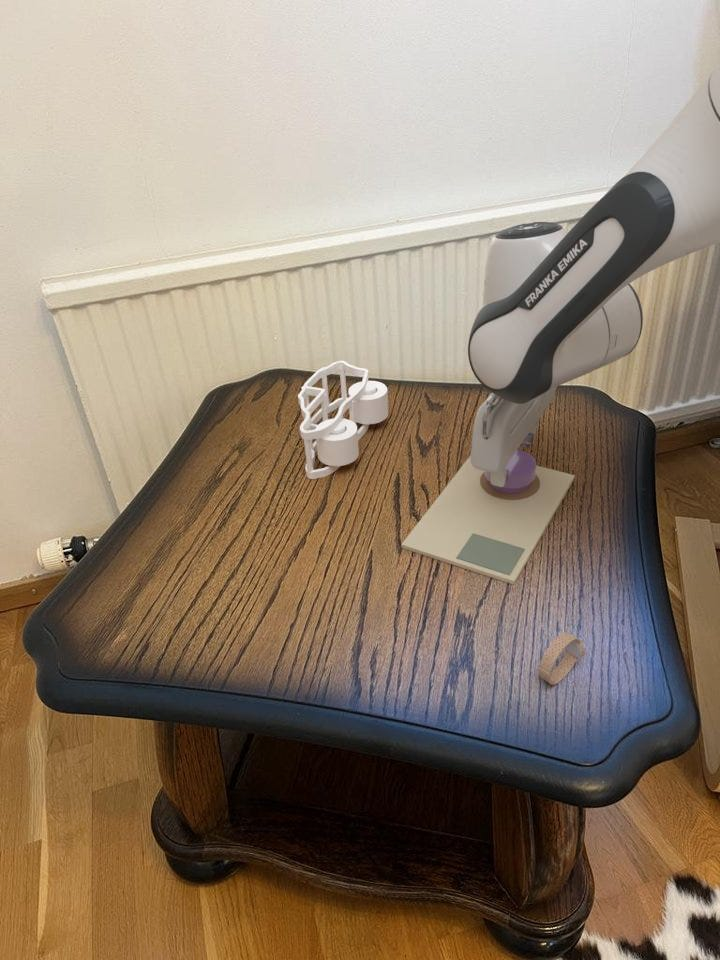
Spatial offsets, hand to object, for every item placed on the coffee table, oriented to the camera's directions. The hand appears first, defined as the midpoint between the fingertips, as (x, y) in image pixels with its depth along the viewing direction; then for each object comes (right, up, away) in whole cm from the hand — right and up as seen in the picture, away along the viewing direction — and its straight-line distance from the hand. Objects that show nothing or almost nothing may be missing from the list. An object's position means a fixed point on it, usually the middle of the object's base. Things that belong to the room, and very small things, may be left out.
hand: (513, 463), depth 96 cm
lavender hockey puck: (0, -2, +2) cm, 3 cm away
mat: (-3, -6, -2) cm, 7 cm away
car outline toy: (-22, +4, +14) cm, 27 cm away
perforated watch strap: (0, -21, -23) cm, 31 cm away
